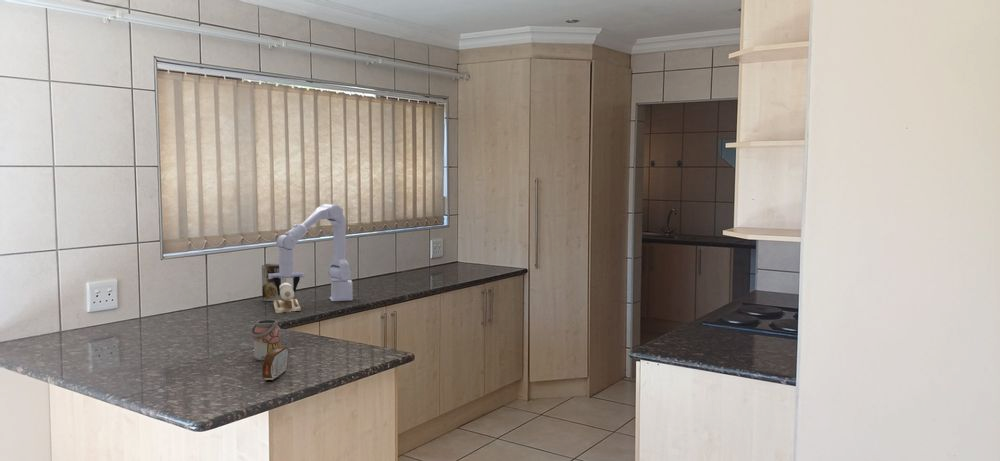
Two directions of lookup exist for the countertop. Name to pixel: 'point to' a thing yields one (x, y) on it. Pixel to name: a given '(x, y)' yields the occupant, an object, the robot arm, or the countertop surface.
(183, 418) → the countertop surface
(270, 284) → the coffee box
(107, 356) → the countertop surface
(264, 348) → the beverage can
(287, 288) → the paper roll
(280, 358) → the tin
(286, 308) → the roll holder
